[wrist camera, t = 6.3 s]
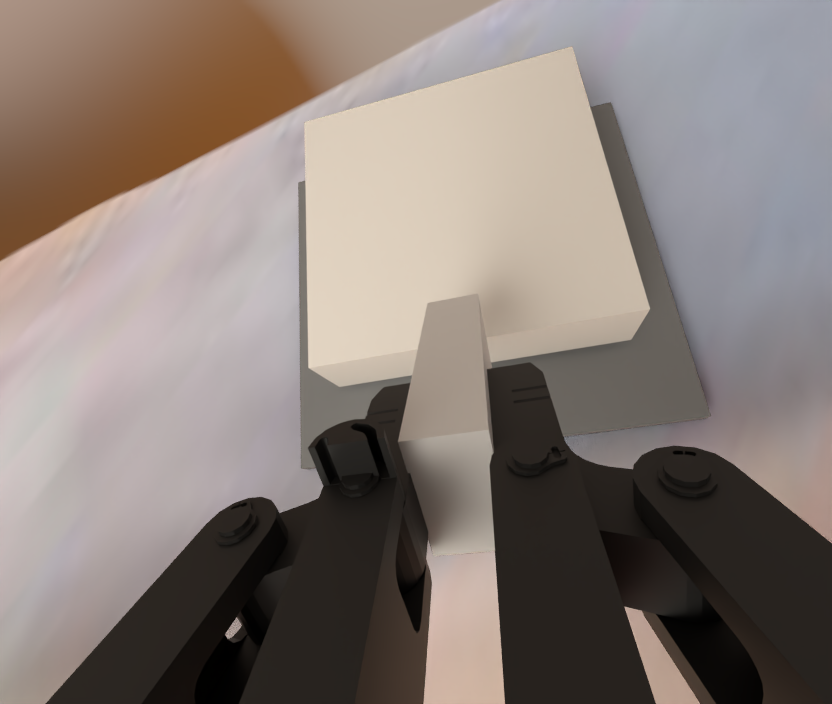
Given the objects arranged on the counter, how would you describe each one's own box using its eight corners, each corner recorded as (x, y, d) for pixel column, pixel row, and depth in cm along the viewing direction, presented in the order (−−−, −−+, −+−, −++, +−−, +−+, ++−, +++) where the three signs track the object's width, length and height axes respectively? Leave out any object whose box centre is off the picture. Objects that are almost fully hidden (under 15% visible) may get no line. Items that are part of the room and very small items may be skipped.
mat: (608, 112, 22) (610, 102, 21) (705, 418, 17) (710, 416, 16) (303, 189, 25) (298, 182, 24) (307, 469, 20) (301, 468, 19)
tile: (629, 342, 18) (566, 110, 22) (650, 309, 15) (572, 46, 19) (342, 388, 20) (333, 170, 24) (308, 368, 17) (304, 122, 21)
